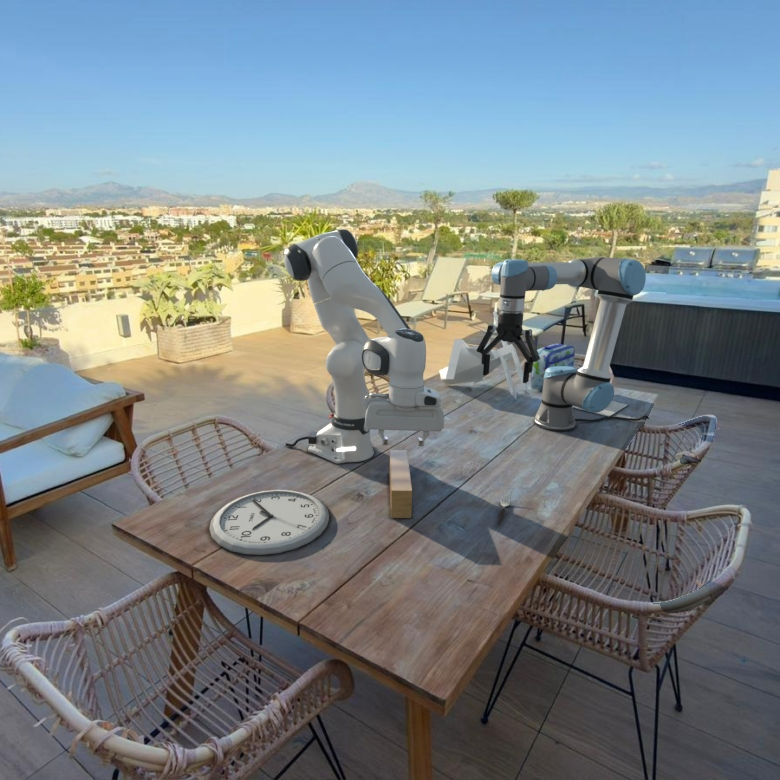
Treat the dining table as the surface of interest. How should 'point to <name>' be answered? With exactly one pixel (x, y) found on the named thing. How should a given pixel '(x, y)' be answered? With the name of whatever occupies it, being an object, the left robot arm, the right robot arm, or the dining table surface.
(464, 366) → the white plastic object
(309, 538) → the wall clock
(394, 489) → the bar
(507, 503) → the fork
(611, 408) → the invitation card
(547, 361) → the lunch box
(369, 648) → the dining table surface
